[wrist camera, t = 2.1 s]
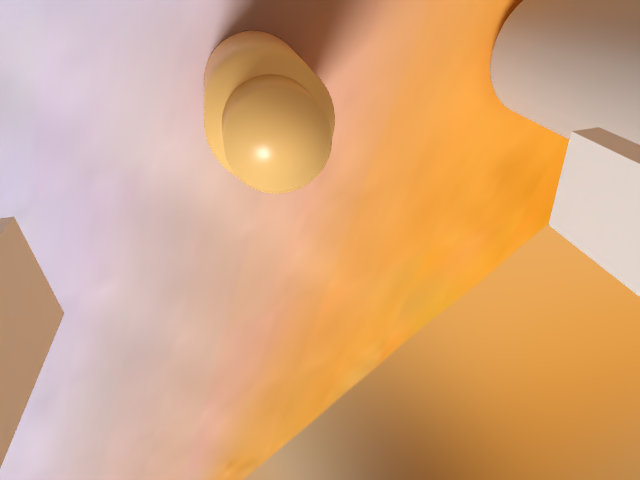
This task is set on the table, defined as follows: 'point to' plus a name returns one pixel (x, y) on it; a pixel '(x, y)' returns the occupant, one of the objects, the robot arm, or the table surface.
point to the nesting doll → (266, 113)
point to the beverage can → (571, 65)
